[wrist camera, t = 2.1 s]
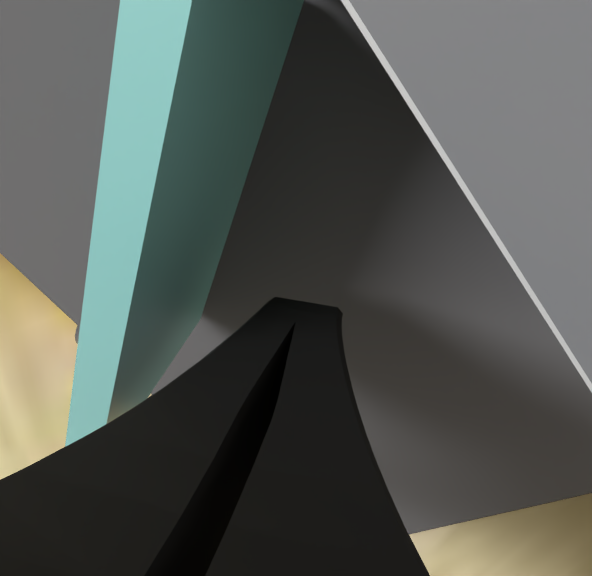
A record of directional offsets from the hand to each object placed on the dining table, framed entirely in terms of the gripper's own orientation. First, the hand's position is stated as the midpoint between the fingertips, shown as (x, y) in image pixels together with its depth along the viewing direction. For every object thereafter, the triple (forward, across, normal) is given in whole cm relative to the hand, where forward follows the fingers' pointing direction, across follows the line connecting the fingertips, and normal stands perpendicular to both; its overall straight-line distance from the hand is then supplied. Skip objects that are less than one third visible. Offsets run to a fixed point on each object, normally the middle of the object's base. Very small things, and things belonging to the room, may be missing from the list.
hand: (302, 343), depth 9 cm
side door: (+2, +2, -3) cm, 4 cm away
